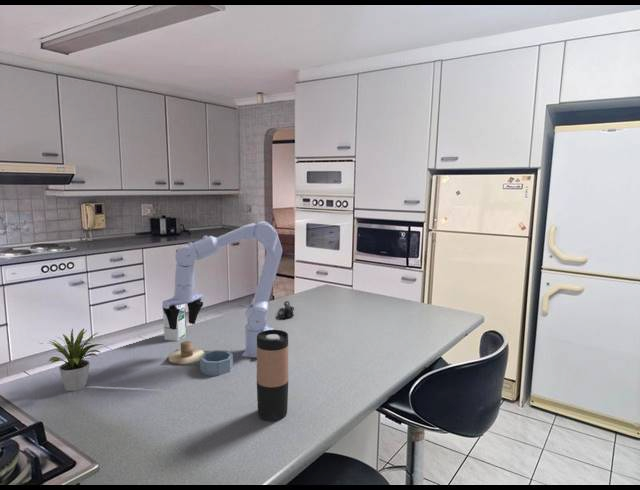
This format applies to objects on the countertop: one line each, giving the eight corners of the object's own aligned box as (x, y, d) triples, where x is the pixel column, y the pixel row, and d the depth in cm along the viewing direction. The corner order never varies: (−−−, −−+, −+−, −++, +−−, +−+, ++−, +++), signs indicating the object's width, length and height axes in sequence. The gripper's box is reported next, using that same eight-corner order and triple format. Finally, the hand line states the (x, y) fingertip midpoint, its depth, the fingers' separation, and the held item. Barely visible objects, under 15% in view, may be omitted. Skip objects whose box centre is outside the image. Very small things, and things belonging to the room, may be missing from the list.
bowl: (235, 364, 127) (235, 350, 127) (227, 377, 118) (226, 363, 118) (207, 363, 128) (206, 349, 127) (196, 376, 119) (196, 361, 118)
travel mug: (257, 405, 103) (257, 329, 101) (288, 404, 104) (288, 329, 101) (255, 422, 96) (255, 341, 93) (288, 421, 97) (288, 340, 94)
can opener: (294, 320, 172) (294, 307, 172) (277, 320, 172) (277, 307, 171) (295, 308, 190) (295, 296, 189) (280, 308, 190) (280, 296, 189)
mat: (211, 352, 136) (211, 350, 136) (198, 368, 124) (198, 366, 124) (176, 351, 137) (176, 349, 137) (160, 366, 125) (160, 364, 125)
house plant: (57, 408, 101) (52, 344, 99) (30, 392, 108) (25, 333, 106) (112, 385, 113) (109, 328, 111) (85, 373, 120) (81, 319, 118)
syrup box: (178, 342, 145) (177, 302, 143) (163, 341, 146) (162, 301, 144) (187, 336, 150) (185, 298, 149) (172, 335, 152) (171, 297, 150)
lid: (209, 351, 136) (209, 337, 135) (197, 365, 125) (197, 350, 124) (177, 350, 136) (176, 336, 136) (162, 364, 126) (162, 349, 125)
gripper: (193, 279, 136) (191, 318, 138) (156, 285, 124) (154, 328, 125) (208, 282, 133) (206, 323, 134) (172, 289, 120) (170, 333, 122)
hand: (182, 326), depth 130 cm, fingers open, 7 cm apart
